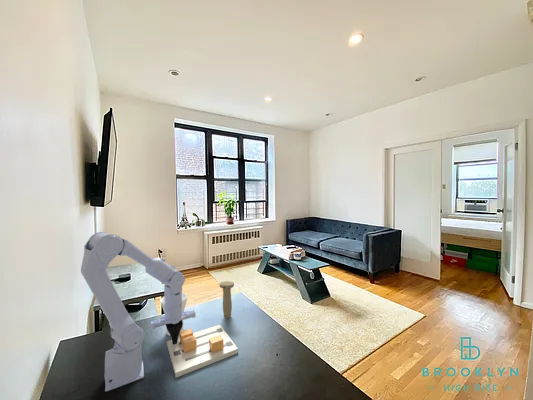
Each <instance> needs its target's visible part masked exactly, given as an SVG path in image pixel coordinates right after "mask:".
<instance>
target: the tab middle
mask: <svg viewBox="0 0 533 400" xmlns="http://www.w3.org/2000/svg"><path fill="white" fill-rule="evenodd" d="M182 345H183V350H184V353H185V352H188V351H191V350H194V349H197V342H196V338H195V336H194V335H193V336H190V337H187V338H184V339H182Z"/></svg>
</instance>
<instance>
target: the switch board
mask: <svg viewBox="0 0 533 400" xmlns="http://www.w3.org/2000/svg"><path fill="white" fill-rule="evenodd" d="M193 335H194V336H195V338H196V342H197V349H194V350H191V351H188V352H185V353H184V350H183V345H181V342H180V336H178V340H177V344H174V345H173V343H172V339H170V340H167V341H166V346H167V349H168V353H169V358H170V361H171V365H172V369H173V373H174V377H175V378H176V379H177V378H179V377H181V376H184V375H186V374H189V373H191V372H193V371H194V372H195V371H196V370H199V369H201V368H204V367H206V366H207V367H208V366H209V365H211V364H214V363H216V362H218V361H221V360H223V359H227V358H228V357H231V356H233V355H236V354H238V353H239V349H238V347H237V345H236V344H235V343H234V342H233V340H232V339H231V337H230V336H229V335H228V334H227V332H226V330H224V328H223V327H222V325H221V324H218V325H214V326H212V327H207V328H206V329H205V328H204V329H202V330H198V331H194V332H193ZM218 335H221V337H222V338H223V343H224V348H223V349H220V350H218V351H215V352H212V351H211V350H210V348H209V338H212V337H215V336H218Z"/></svg>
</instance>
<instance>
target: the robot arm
mask: <svg viewBox="0 0 533 400" xmlns="http://www.w3.org/2000/svg"><path fill="white" fill-rule="evenodd" d="M83 248H84V249H83V251H84V252H83V256H82V257H83V258H82V262H81V266H80V273H81V275H82V276H83V278H84V280H85V282H86V284H87V285H88V288H89V289H90V291H91V292H92V294H93V297H94V298H95V300H96V301H97V303H98V305H99V307H100V308H101V310H102V312H103V314H104V315H105V317H106V319H107V320H108V325H109V327H110V337H111V339H113V340H114V344H113V348H110V349H109V350H106V351H105V356H104V383H105V384H104V385H105V388H104V392H109V391H112V390H115V389H117V388H120V387H123V386H125V385H128V384H130V383H133V382H137V381H138V380H141V379H143V378H144V377H145V372H144V369H145V368H144V362H143V360H142V359H143V357H142V356H143V355H142V351H143V350H142V343H143V341H144V339H145V336H146V335H145V330H144V329H143V328H142V327H140V326H138V325H137V324H136V321H135V320H133V318H132V317H131V316H130V314H129V312H128V310H127V309H126V307H125V305H124V303H123V301H122V299H121V297H120V296H119V293H118V291H117V290H116V288H115V286H114V284H113V282H112V280H111V278H110V276H109V275H108V273H107V268H108V267H109V265H110V263H111V262H112V261H113V260H114V259H115V258H116V257H118V256H120V257H123V256H124V257H125V256H127V257H128V258H130V259H131V260H133V261H135V262H137V263H139V264H140V265H142V266H144V267H145V273H146V274H147V275H149V276H151V277H153V278H154V279H155V280H157V281H159V282H161V284H162V285H164V286H163V290H164V296H165V313H164V316H162V317H160V318H157V319H155V320H152V321H150V330H155V329H156V328H159V327H162V326H165V327H166V330H168V332H169V333H170V335H171V336H170V338H171V340H172V343H173V345H174V344H177V340H178V338H179V337H180V334H179V333H180V330H181V328H182V326H183V327H184V321H185V320H187V319H191V318H193V319H194V318H196V311H195V310H194V309H191V310H186V311H185V310H184V312H182V293H183V285H184V283H185V281H186V277H185V276H184V273H183V272H182V271H179V270H176V266H174V265H170V264H169V263H167V262H166V259H165V258H164V257H154V258H153V257H152V256H150V255H148V254H147V253H146V252H145V251H144V250H142V249H140V248H139V247H138V246H136V245H135V244H133V242H131V241H129V240H127V239H124V238H122V237H121V236H120V235H117V234H116V233H108V232H106V231H99V232H95V233H94V234H93V235H91V236H90V237H89V239H88V240H87V241H86V242H85V244H84V246H83ZM164 296H163V297H164ZM182 320H183V322H182Z"/></svg>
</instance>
